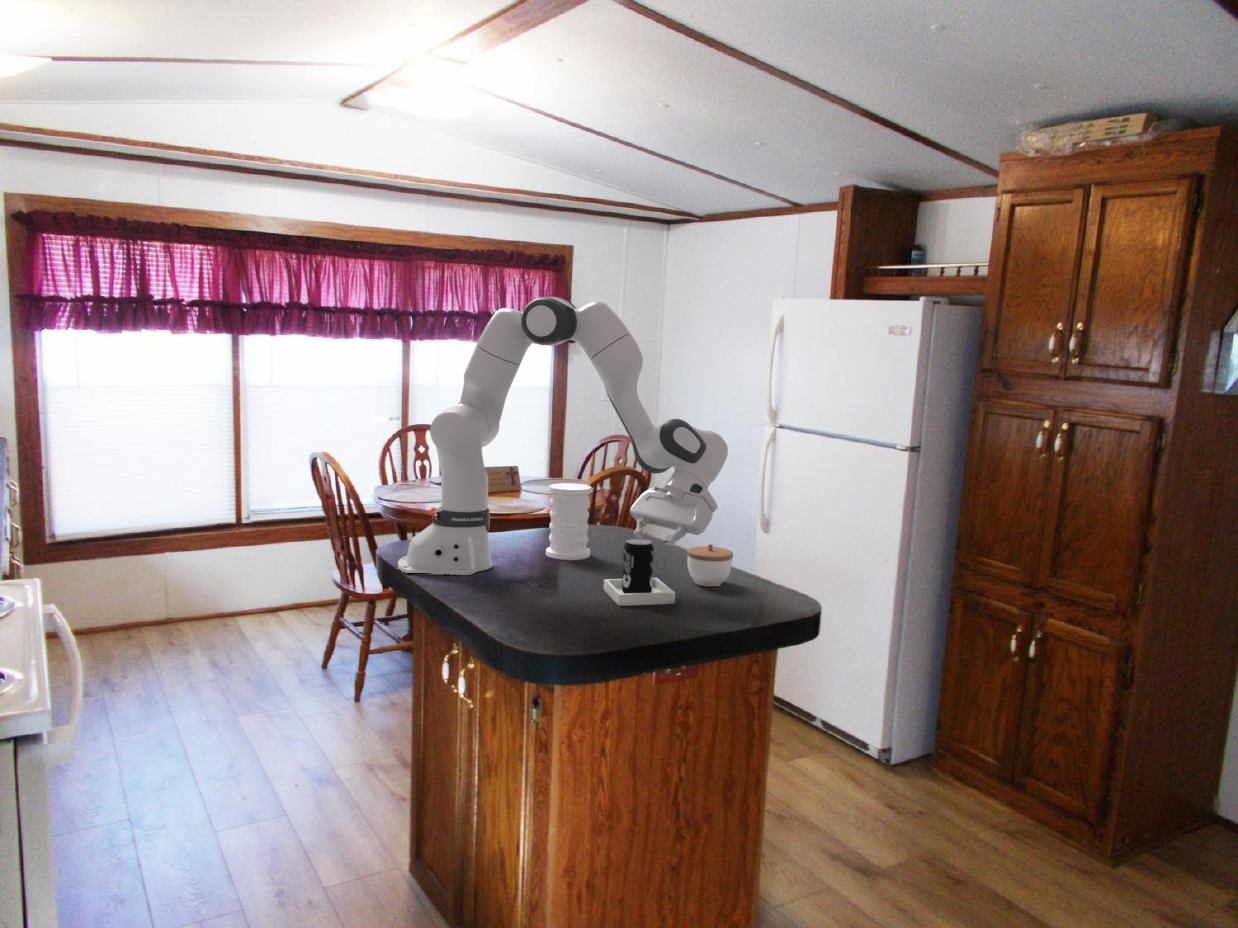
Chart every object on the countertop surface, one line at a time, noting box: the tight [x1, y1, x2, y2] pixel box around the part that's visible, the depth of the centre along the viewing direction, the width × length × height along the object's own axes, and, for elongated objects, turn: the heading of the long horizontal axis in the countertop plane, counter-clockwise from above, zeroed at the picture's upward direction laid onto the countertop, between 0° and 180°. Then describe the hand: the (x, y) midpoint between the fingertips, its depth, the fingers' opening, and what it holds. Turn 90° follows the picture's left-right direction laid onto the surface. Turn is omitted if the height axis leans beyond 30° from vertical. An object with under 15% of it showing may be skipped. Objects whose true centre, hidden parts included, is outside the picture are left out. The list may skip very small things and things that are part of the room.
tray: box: [602, 577, 676, 607], centre depth 201 cm, size 13×13×2 cm
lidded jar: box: [686, 543, 734, 587], centre depth 214 cm, size 11×11×9 cm
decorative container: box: [545, 482, 592, 561], centre depth 236 cm, size 12×12×18 cm
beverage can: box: [621, 537, 655, 594], centre depth 200 cm, size 7×7×12 cm
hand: (652, 540), depth 202 cm, fingers open, 8 cm apart
